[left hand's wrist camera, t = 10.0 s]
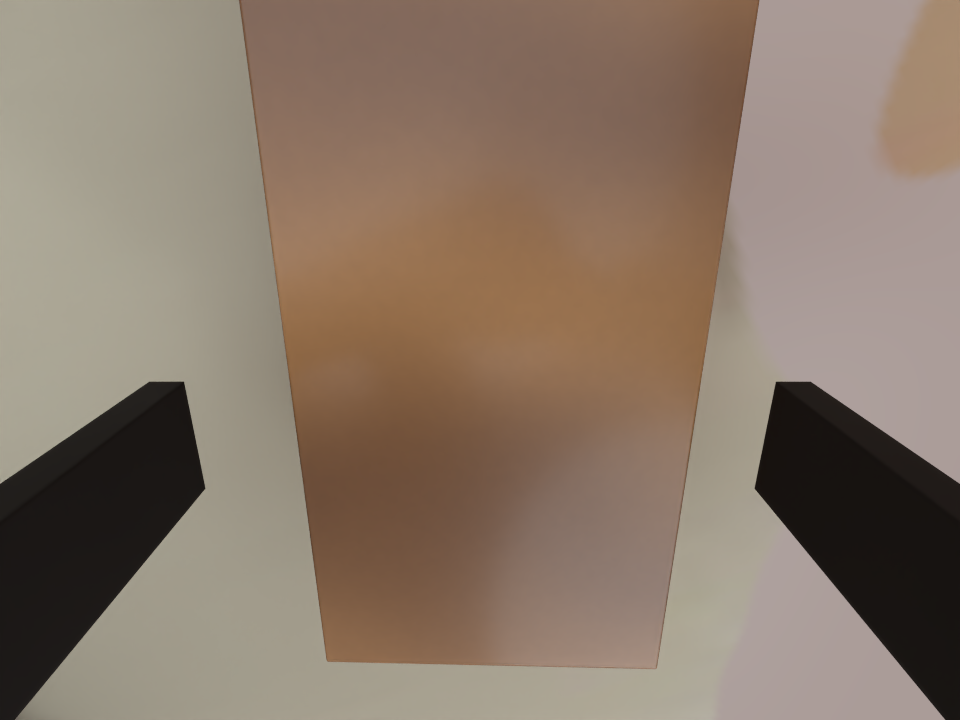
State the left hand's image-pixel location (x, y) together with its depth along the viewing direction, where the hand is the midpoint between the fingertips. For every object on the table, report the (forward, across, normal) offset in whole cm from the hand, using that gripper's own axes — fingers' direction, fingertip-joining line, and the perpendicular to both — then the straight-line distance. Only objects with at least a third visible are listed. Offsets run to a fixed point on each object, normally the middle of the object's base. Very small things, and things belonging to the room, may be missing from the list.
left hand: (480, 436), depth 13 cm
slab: (+6, 0, -34) cm, 35 cm away
